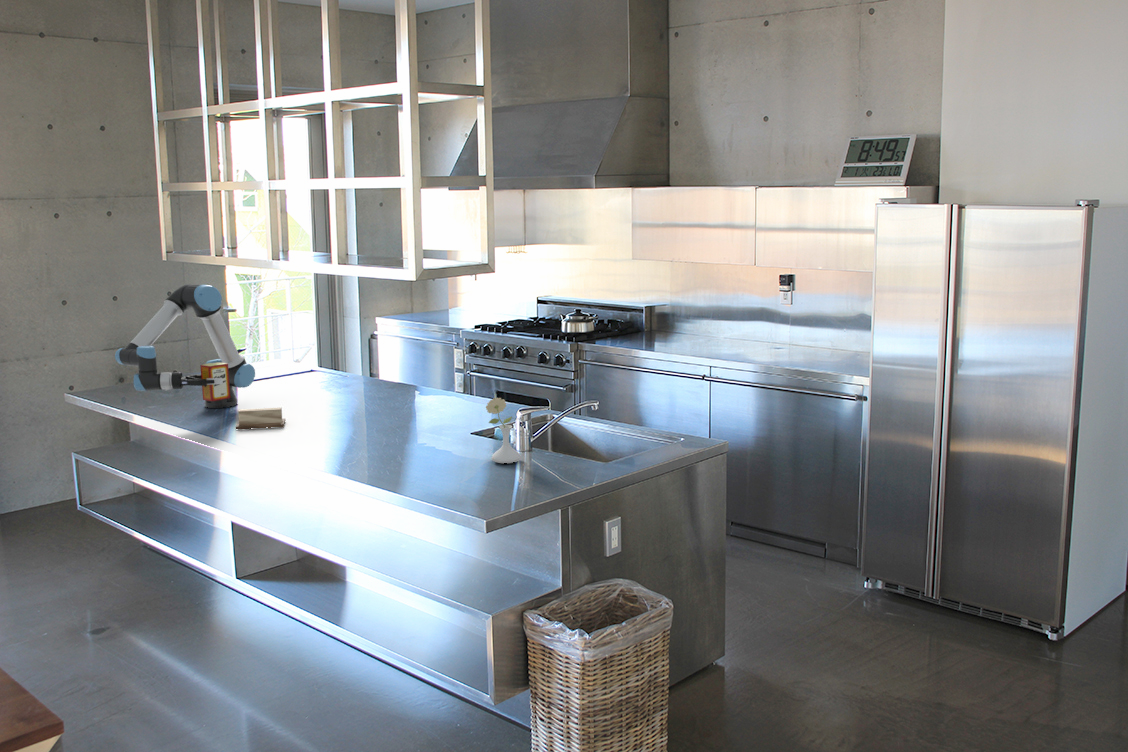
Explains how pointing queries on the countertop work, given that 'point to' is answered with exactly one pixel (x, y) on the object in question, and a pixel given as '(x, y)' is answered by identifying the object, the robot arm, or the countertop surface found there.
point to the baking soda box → (215, 390)
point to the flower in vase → (506, 451)
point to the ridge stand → (260, 418)
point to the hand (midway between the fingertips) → (224, 378)
